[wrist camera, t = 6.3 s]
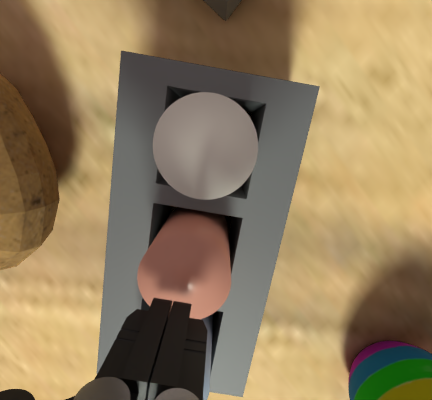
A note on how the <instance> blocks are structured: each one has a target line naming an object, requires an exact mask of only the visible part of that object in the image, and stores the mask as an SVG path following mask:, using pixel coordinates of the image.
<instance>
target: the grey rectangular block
mask: <svg viewBox="0 0 432 400" xmlns="http://www.w3.org/2000/svg"><path fill="white" fill-rule="evenodd" d="M319 87H320V86H314V85H308V84H303V83H297V82H292V81H286V80H281V79H275V78H270V77H264V76H259V75H253V74H248V73H242V72H237V71H231V70H226V69H220V68H215V67H209V66H204V65H198V64H193V63H187V62H182V61H176V60H170V59H165V58H159V57H154V56H148V55H143V54H137V53H132V52H126V51H121V61H120V74H119V87H118V100H117V113H116V126H115V140H114V153H113V166H112V179H111V192H110V205H109V219H108V232H107V245H106V258H105V271H104V284H103V298H102V311H101V324H100V337H99V350H98V363H97V374H98V372H99V370H100V368H101V366H102V364H103V362H104V360H105V358H106V356H107V354H108V353H109V351H110V349H111V347H112V345H113V343H114V341H115V340H116V337H117V335H118V333H119V331H120V330H121V327H122V325H123V323H124V322H125V320H126V318H127V317H128V316H129V315H130V314H131V313H133V312H134V311H135V310H136V309H140V310H146V311H148V310H149V308H150V306H149V305H148V304H147V303H146V301H145V300H144V298H143V297H142V295H141V293H140V290H139V287H138V281H137V273H138V267H139V264H140V262H141V260H142V258H143V256H144V255H145V253H146V252H147V250H148V248H149V247H150V245H151V244H152V242H153V241H154V239H155V237H156V236H157V234H158V233H159V231H160V230H161V228H162V226H163V225H164V223H165V222H166V220H167V219H168V217H169V215H170V208H171V206H175V207H181V208H187V209H193V210H199V211H205V212H210V213H216V214H222V215H228V216H232V219H231V225H230V230H229V250H230V267H231V288H230V292H229V295H228V297H227V299H226V301H225V302H224V304H223V305H222V306H221V307H220V308H219V309H218V310H217V311H216V312H214V313H213V330H212V350H211V370H210V390H209V392H214V393H220V394H226V395H233V396H239V397H243V393H244V389H245V385H246V381H247V377H248V373H249V369H250V365H251V361H252V357H253V353H254V349H255V345H256V341H257V337H258V333H259V329H260V325H261V321H262V317H263V313H264V309H265V305H266V301H267V297H268V293H269V289H270V284H271V280H272V276H273V272H274V268H275V264H276V260H277V256H278V252H279V248H280V244H281V240H282V236H283V232H284V228H285V224H286V220H287V216H288V212H289V208H290V204H291V200H292V196H293V192H294V188H295V184H296V180H297V176H298V172H299V168H300V164H301V160H302V156H303V152H304V148H305V143H306V139H307V135H308V131H309V127H310V123H311V119H312V115H313V111H314V107H315V103H316V99H317V95H318V91H319ZM199 92H210V93H216V94H220V95H223V96H226V97H228V98H230V99H232V100H233V101H235V102H236V103H237V104H239V105H240V106H241V107H242V108H243V109H244V110H245V111H246V112H251V113H252V117H251V120H252V122H253V124H254V127H255V129H256V133H257V138H258V155H257V160H256V164H255V166H254V169H253V171H252V173H251V174H250V176H249V177H248V179H247V180H246V181H245V183H244V184H243V185H242V186H241V187H239V188H238V189H237V190H235V191H234V192H232V193H230V194H229V195H226V196H224V197H221V198H217V199H211V200H202V199H195V198H191V197H188V196H186V195H183V194H182V193H180V192H178V191H177V190H175V189H174V188H173V187H171V186H170V185H169V184H168V183H167V182H166V180H165V179H164V178H163V177H162V175H161V174H160V172H159V170H158V168H157V165H156V162H155V159H154V155H153V136H154V131H155V128H156V125H157V123H158V121H159V119H160V117H161V116H162V114H163V113H164V112H165V110H166V109H167V108H168V107H169V106H170V105H171V104H173V103H174V102H175V101H177V100H178V99H180V98H182V97H184V96H187V95H190V94H193V93H199Z"/></svg>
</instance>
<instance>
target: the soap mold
mask: <svg viewBox="0 0 432 400" xmlns="http://www.w3.org/2000/svg"><path fill="white" fill-rule="evenodd" d="M203 1H204V2H206V3H207V4H208V5H209V6H210V7H211V8H212V9H213V10H214V11H215V12H216V13H217V14H218V15H219V16H220V17H221V18H222V19H223V20H225V21H226V20H227V19H228V18H229V16H230V15H231V14H232V12H233V11H234V10H235V8H236V7H237V6H238V4H239V3H240V2H241V0H203Z"/></svg>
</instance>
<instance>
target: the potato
mask: <svg viewBox="0 0 432 400" xmlns="http://www.w3.org/2000/svg"><path fill="white" fill-rule="evenodd" d="M58 203H59V192H58V183H57V175H56V169H55V166H54V163H53V161H52V158H51V155H50V153H49V150H48V147H47V144H46V142H45V140H44V138H43V136H42V134H41V132H40V130H39V128H38V126H37V124H36V122H35V120H34V118H33V116H32V114H31V113H30V111H29V109H28V108H27V106H26V104H25V103H24V101H23V99H22V97H21V96H20V94H19V92H18V91H17V89H16V88H15V87H14V86H13V85H12V84H11V83H10V82H9V81H8V80H7V79H6V78H4V77H3V76H2V75H1V74H0V270H3V269H7V268H11V267H15V266H17V265H19V264H20V263H21V262H22V261H23V260H25V259H26V258H27V257H28V256H29V255H31V254H32V253H33V252H34V251H35V250H37V249H38V248H39V247H40V246H41V245H42V243H43V242H44V241H45V239H46V238H47V237H48V235H49V234H50V233H51V231H52V230H53V226H54V222H55V217H56V212H57V208H58Z"/></svg>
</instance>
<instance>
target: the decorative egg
mask: <svg viewBox="0 0 432 400" xmlns="http://www.w3.org/2000/svg"><path fill="white" fill-rule="evenodd" d="M349 397H350V400H432V354H431V353H429V352H427V351H426V350H423V349H421V348H419V347H417V346H414V345H411V344H407V343H403V342H399V341H382V342H377V343H374V344H372V345H370V346H368V347H366V348H365V349H363V350H362V351H361V352H360V353H359V354H358V355H357V357H356V358H355V359H354V361H353V364H352V366H351V370H350V374H349Z"/></svg>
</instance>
